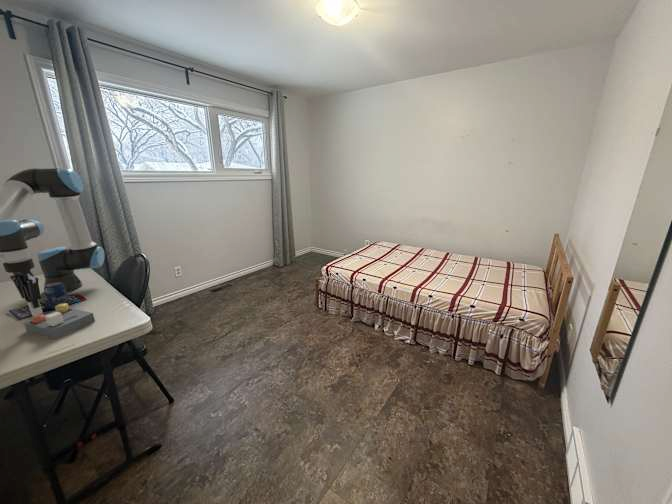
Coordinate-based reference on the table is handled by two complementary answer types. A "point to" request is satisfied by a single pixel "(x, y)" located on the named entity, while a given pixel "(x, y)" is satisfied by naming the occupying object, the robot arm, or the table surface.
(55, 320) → the slider
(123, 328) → the table surface
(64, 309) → the button ochre
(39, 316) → the button red
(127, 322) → the table surface
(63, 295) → the soda can
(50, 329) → the panel
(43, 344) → the table surface
